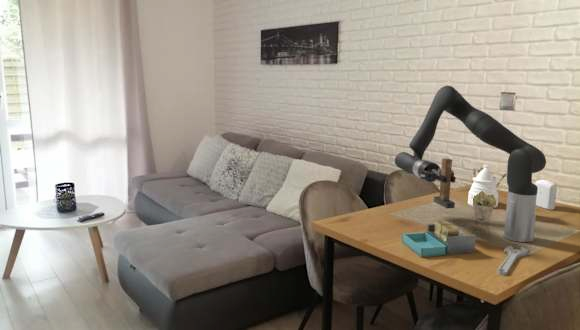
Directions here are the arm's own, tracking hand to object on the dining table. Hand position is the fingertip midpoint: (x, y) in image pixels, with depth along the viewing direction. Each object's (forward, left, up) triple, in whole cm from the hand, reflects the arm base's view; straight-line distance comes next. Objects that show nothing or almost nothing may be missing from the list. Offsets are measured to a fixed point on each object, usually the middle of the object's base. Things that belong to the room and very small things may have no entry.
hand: (450, 179), depth 157 cm
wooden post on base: (+1, -3, -10) cm, 10 cm away
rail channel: (-1, +8, -22) cm, 23 cm away
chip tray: (+8, +13, -22) cm, 26 cm away
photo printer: (-43, -58, -22) cm, 76 cm away
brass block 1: (+1, +7, -18) cm, 19 cm away
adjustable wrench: (-19, +15, -23) cm, 33 cm away
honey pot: (-17, -54, -22) cm, 61 cm away
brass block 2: (-1, +10, -18) cm, 21 cm away
